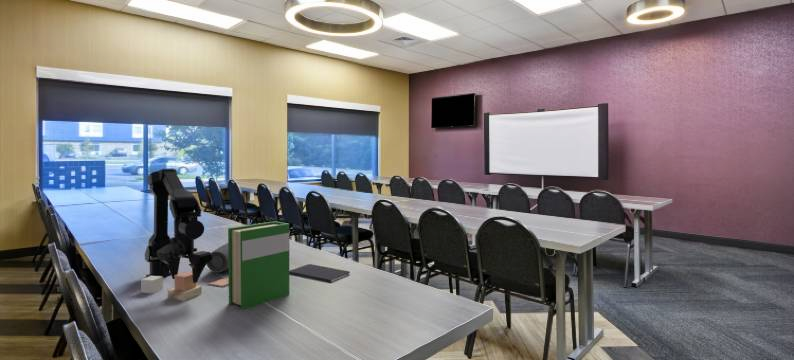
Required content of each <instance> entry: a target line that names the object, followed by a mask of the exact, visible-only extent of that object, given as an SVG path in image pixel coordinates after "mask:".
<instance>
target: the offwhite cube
mask: <svg viewBox="0 0 794 360" xmlns="http://www.w3.org/2000/svg"><path fill="white" fill-rule="evenodd" d="M163 278H164V277H163V276H149V277H147V276H145V278H141V279H140V285H141V286H140V289H141V290H140V291H141V294H142V293H143V294H155V293H157V292H160V291H162V290H163V289H164V288H163V287H164V283H163V282H164V281H163V280H164V279H163Z"/></svg>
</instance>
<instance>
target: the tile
mask: <svg viewBox="0 0 794 360" xmlns="http://www.w3.org/2000/svg"><path fill="white" fill-rule="evenodd" d="M207 285H208V286H212V287H218V288H225V287H227V286H229V279H226V278H221V279H218V280H216V281H212V282H210V283H207Z"/></svg>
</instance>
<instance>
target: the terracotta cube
mask: <svg viewBox="0 0 794 360" xmlns="http://www.w3.org/2000/svg"><path fill="white" fill-rule="evenodd" d="M174 278H175V279H174V288H175V289H178V290H183V291H186V290H189V289H192V288H194V287H196V286H197V283H193V275H192V272H190V271H185V272H182V273H178V274H177V275H174Z"/></svg>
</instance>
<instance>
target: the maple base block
mask: <svg viewBox="0 0 794 360" xmlns="http://www.w3.org/2000/svg"><path fill="white" fill-rule="evenodd" d="M202 289H203V287H202V286H201V285H196V287H194V288H192V289H189V290H186V291H183V290H178V289H175V287H173V288H170V289H167V298H168V299H172V300H177V301H183V302H186V301H189V300H190V299H193V298H195V297H198V296H201V295H202V292H203V291H202Z"/></svg>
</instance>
